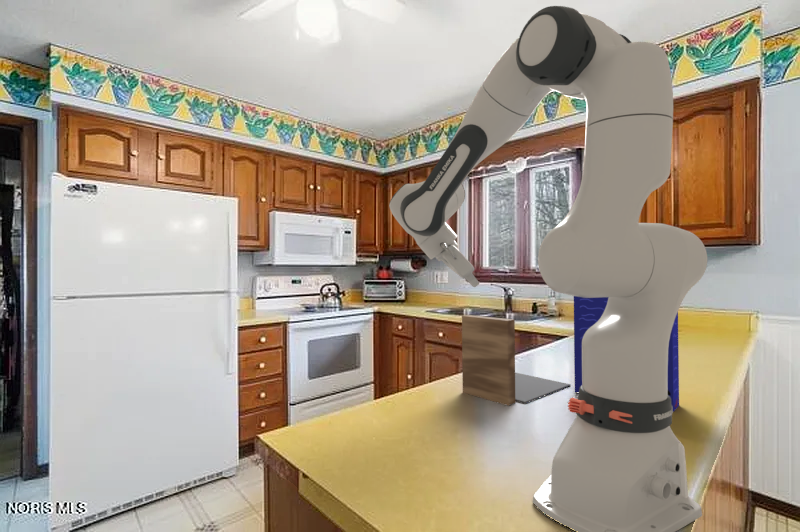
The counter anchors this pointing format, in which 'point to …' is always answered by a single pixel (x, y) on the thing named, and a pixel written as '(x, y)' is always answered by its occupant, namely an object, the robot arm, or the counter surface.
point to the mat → (534, 387)
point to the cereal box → (590, 313)
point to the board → (489, 358)
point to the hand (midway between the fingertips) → (476, 285)
